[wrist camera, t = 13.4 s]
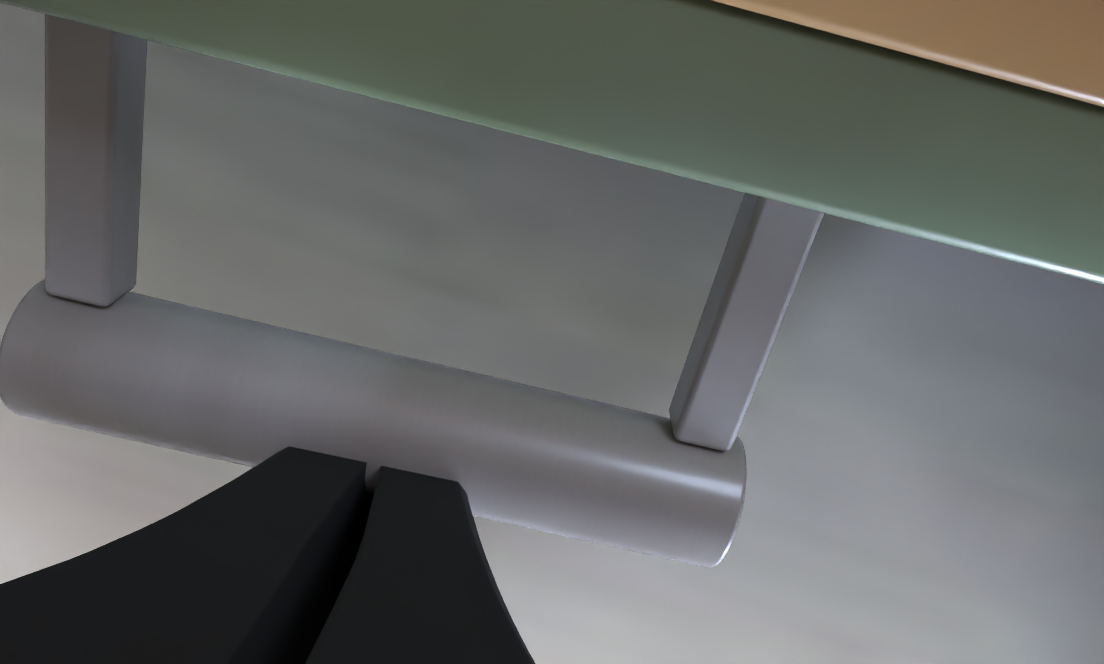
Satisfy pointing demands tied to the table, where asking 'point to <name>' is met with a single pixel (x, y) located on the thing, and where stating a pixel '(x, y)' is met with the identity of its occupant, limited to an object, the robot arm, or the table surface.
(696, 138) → the drawer
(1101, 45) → the cabinet
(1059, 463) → the table surface
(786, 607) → the table surface
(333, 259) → the table surface
